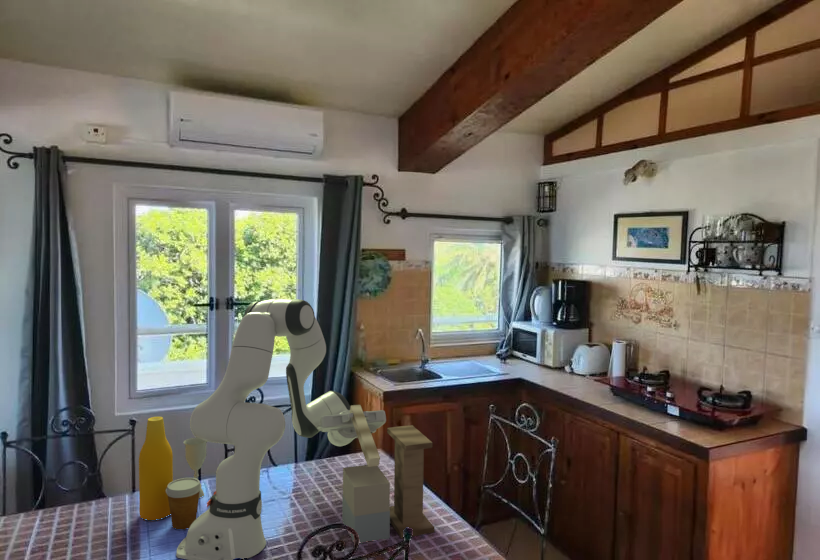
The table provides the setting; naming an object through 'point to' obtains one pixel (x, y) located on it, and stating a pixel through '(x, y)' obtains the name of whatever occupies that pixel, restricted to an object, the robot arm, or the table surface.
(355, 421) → the batten
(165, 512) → the beer bottle
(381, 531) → the tower base block
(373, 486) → the tower top block
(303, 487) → the table surface
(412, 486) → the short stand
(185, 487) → the disposable coffee cup
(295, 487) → the table surface
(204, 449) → the chalice
